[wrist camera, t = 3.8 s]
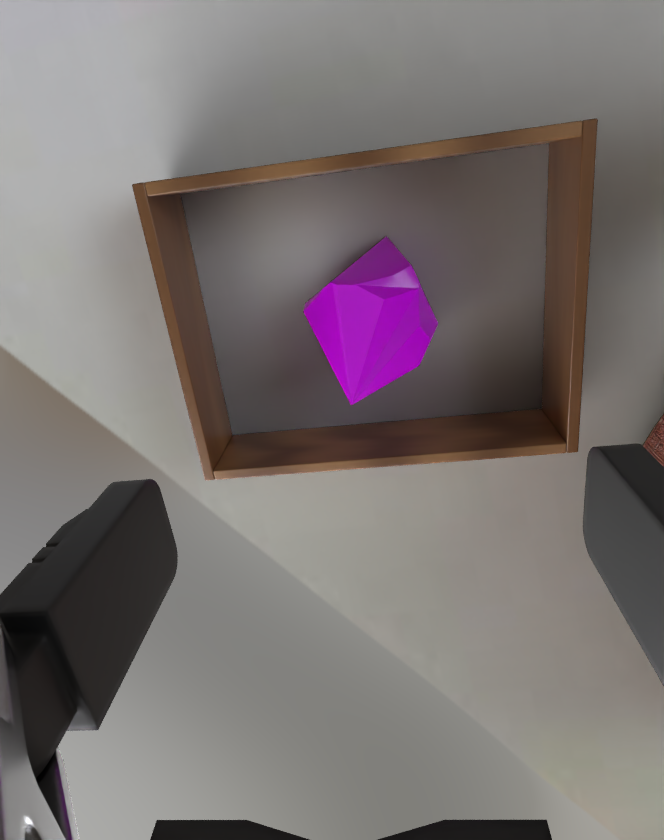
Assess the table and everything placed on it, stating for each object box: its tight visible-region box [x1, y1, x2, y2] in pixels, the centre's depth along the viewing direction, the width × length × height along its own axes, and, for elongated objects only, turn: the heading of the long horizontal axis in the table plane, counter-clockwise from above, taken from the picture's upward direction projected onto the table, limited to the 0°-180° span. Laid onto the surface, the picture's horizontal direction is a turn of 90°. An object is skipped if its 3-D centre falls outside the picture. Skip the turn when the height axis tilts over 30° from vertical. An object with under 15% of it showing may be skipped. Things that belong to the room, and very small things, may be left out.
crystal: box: [303, 236, 438, 405], centre depth 24 cm, size 5×5×5 cm
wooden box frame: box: [132, 119, 598, 480], centre depth 24 cm, size 17×13×4 cm
